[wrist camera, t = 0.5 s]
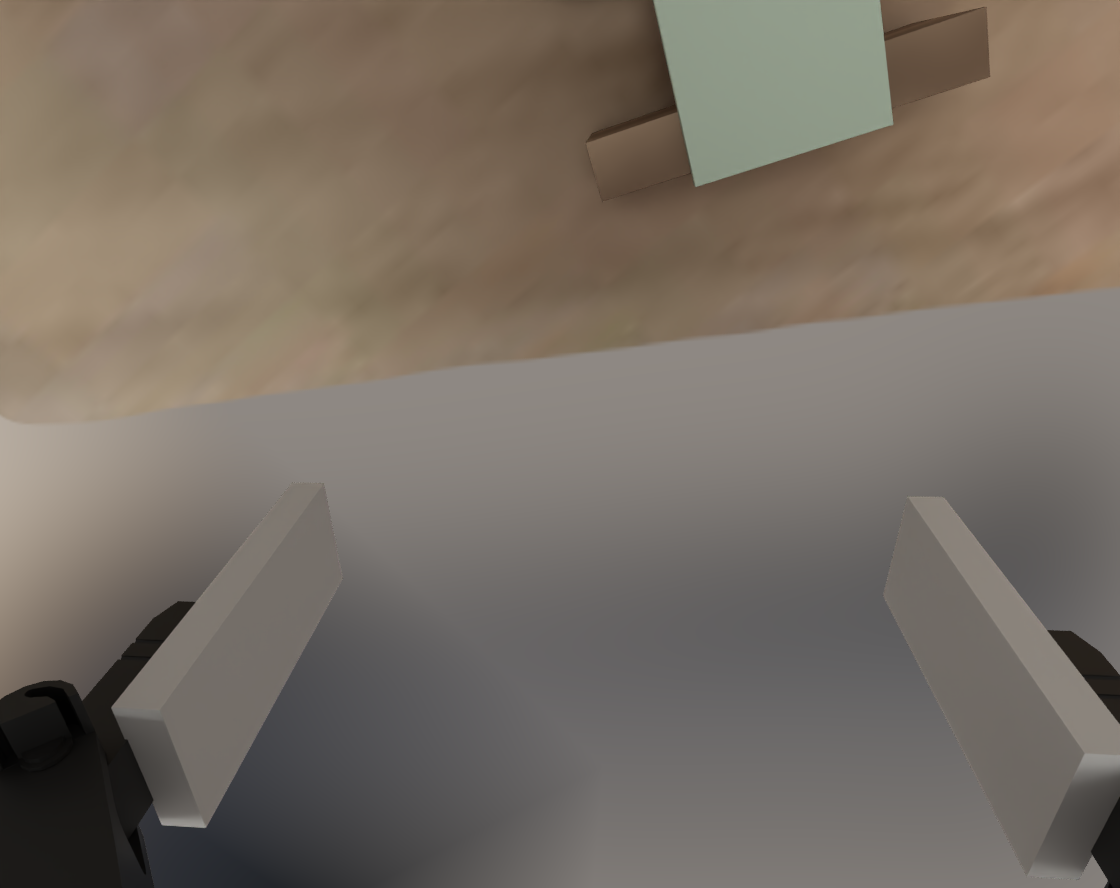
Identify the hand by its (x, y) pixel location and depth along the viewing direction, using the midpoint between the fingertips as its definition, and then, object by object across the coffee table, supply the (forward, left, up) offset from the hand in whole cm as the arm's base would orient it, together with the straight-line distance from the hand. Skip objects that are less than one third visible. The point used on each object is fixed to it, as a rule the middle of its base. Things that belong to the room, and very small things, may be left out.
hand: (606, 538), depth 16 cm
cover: (-11, +9, -19) cm, 24 cm away
